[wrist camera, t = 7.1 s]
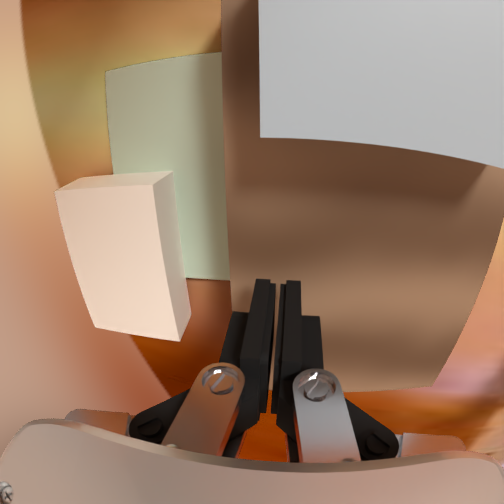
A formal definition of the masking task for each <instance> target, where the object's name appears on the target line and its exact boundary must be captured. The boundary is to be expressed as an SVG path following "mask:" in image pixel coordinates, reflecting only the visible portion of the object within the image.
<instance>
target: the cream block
mask: <svg viewBox="0 0 504 504" xmlns="http://www.w3.org/2000/svg"><path fill="white" fill-rule="evenodd" d="M54 193H55V198H56V203H57V207H58V212H59V216H60V220H61V224H62V228H63V232H64V236H65V240H66V243H67V247H68V250H69V254H70V257H71V261H72V264H73V267H74V271H75V274H76V277H77V280H78V283H79V286H80V289H81V291H82V294H83V297H84V300H85V303H86V305H87V308H88V311H89V313H90V316H91V318H92V321H93V323H94V326H95V327H96V328H101V329H107V330H111V331H117V332H122V333H128V334H133V335H139V336H145V337H152V338H158V339H165V340H172V341H179V342H180V340H181V338H182V335H183V333H184V331H185V328H186V326H187V324H188V321H189V319H190V317H191V308H190V302H189V296H188V289H187V283H186V276H185V269H184V262H183V255H182V247H181V240H180V232H179V223H178V214H177V205H176V196H175V186H174V175H173V171H161V172H142V173H127V174H114V175H102V176H91V177H81V178H79V179H77V180H75V181H73V182H71V183H69V184H67V185H65V186H63V187H61V188H59V189H57V190H56V191H54Z"/></svg>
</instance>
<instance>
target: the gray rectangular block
mask: <svg viewBox="0 0 504 504" xmlns="http://www.w3.org/2000/svg"><path fill="white" fill-rule="evenodd" d="M258 1H259V64H260V138H298V139H317V140H332V141H344V142H355V143H365V144H374V145H382V146H390V147H398V148H405V149H411V150H418V151H424V152H430V153H435V154H441V155H446V156H451V157H456V158H461V159H465V160H470V161H474V162H479V163H483V164H487V165H491V166H495V167H499V168H503V169H504V0H258Z"/></svg>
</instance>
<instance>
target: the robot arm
mask: <svg viewBox="0 0 504 504" xmlns="http://www.w3.org/2000/svg"><path fill="white" fill-rule="evenodd" d="M275 298H276V283H271V280H270V279H256V281H255V286H254V291H253V296H252V301H251V305H250V310H249V312H237V311H233V313H232V316H231V320H230V323H229V327H228V331H227V334H226V338H225V342H224V345H223V349H222V353H221V356H220V360H219V363H214V364H211V365H208V366H206V367H205V368H204V369H202V370H201V372H200V373H199V374H198V376H197V378H196V380H195V382H194V383H193V385H192V387H191V388H190V389H188V390H186V391H184V392H182V393H180V394H178V395H176V396H174V397H172V398H170V399H168V400H166V401H164V402H162V403H160V404H157V405H156V406H153V407H151V408H149V409H147V410H145V411H142V412H141V413H139V414H137V415H136V416H131V415H129V413H123V412H108V411H97V410H87V409H76V410H74V411H71V412H70V413H69V414H68V415H67V416H66V417H65V419H39V420H34V421H31V422H28V423H27V424H25V425H24V426H23V427H22V428H21V429H20V430H19V431H18V432H17V433H16V434H15V436H14V437H13V438H12V440H11V441H10V443H9V444H8V446H7V447H6V449H5V451H4V453H3V454H2V456H1V458H0V504H504V469H503V467H502V466H501V464H500V463H499V462H498V461H497V460H496V459H495V458H493V457H491V456H488V455H486V454H482V453H478V452H473V451H466V449H465V445H464V443H463V442H462V440H460V439H459V438H457V437H455V436H446V435H425V434H411V433H403V434H402V435H395V434H394V433H393V432H392V431H391V430H389V429H388V428H387V427H385V426H384V425H382V424H381V423H379V422H378V421H376V420H375V419H374V418H372V417H371V416H369V415H368V414H367V413H365V412H364V411H362V410H361V409H360V408H358V407H357V406H355V405H354V404H353V403H351V402H350V401H349V400H347V399H346V398H345V397H344V395H343V391H342V388H341V384H340V382H339V380H338V378H337V377H336V376H335V375H334V374H332V373H331V372H329V371H327V370H324V363H323V349H322V335H321V323H320V316H309V315H302V307H301V281H297V280H286V284H280V298H279V310H278V323H277V334H276V346H275V357H274V372H273V388H272V404H271V414H277V419H276V425H277V426H278V427H279V428H281V429H282V430H283V431H284V432H285V441H286V450H287V460H288V462H269V461H256V460H246V459H238V457H239V454H240V451H241V449H242V446H243V443H244V440H245V438H246V435H247V429H249V428H250V427H252V426H253V425H255V424H257V421H259V417H260V413H266V408H267V400H268V390H269V381H270V372H271V362H272V352H273V341H274V322H275Z"/></svg>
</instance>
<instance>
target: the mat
mask: <svg viewBox="0 0 504 504" xmlns="http://www.w3.org/2000/svg"><path fill="white" fill-rule="evenodd" d="M105 81H106V103H107V118H108V130H109V140H110V150H111V158H112V166H113V174H127V173H142V172H161V171H173V175H174V186H175V196H176V205H177V214H178V223H179V232H180V240H181V247H182V255H183V262H184V269H185V276H186V278H199V279H214V280H229V281H230V269H229V251H228V232H227V211H226V189H225V164H224V135H223V100H222V52H216V53H205V54H196V55H188V56H180V57H174V58H167V59H161V60H155V61H150V62H145V63H140V64H135V65H130V66H126V67H122V68H117V69H113V70H109V71H106V72H105Z"/></svg>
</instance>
